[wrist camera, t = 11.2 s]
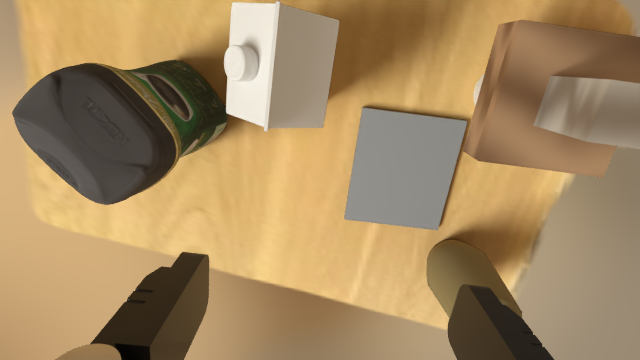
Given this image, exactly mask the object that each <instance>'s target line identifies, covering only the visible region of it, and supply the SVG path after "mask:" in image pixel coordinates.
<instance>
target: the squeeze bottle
mask: <svg viewBox="0 0 640 360" xmlns="http://www.w3.org/2000/svg"><path fill="white" fill-rule="evenodd" d="M427 282H428V286H429V287H430V289H431V290H432V292H433V294H434V295H435V297H436V298H437V300H438V301H439V303H440V304H441V306H442V307H443V309H444V310H445V312H446V313H447V315H448V316H449V318H450V316H451V313H452V310H453V307H454V303H455V300H456V297H457V294H458V291H459V288H460V287H461V285H463V284H468V285H477V286H486V287H489V288H490V289H491V290H492V291H493V292H494V294H495V295H496V296H497V298H498V299H499V300H500V302H501V303H502V304H503V305H506V306H508V307H509V308H510V309H511V310H512V311H514V312H515V313H516V314H517V315H519V316H520V317H521V318H522V311H521V310H520V308H519V306H518V305H517V303H516V302H515V300H514V298H513V297H512V295H511V294H510V292H509V290H508V289H507V287H506V286H505V284H504V282H503V281H502V279H501V278H500V276H499V274H498V273H497V271H496V270H495V268H494V266H493V265H492V263H491V262H490V260H489V258H488V257H487V255H486V254H485V253H483V252H482V251H480V250H479V249H477V248H475V247H473V246H471V245H468V244H466V243H464V242H462V241H458V240H446V241H442V242H440V243H439V244H437V245H435V246H434V247H433V249H432V250H431V251H430V252H429V255H428V258H427Z"/></svg>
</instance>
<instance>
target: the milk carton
mask: <svg viewBox="0 0 640 360" xmlns="http://www.w3.org/2000/svg"><path fill="white" fill-rule="evenodd" d="M338 30H339V20H337V19H333V18H330V17H326V16H322V15H319V14H315V13H312V12H308V11H304V10H301V9H297V8H294V7H290V6H286V5H283V4H281V2H280V1H276V4H270V3H232V9H231V22H230V40H229V47H228V49H227V50H226V53H225V57H224V69H225V72H226V75H227V76H228V77H227V95H226V113H227V114H230V115H232V116H235V117H238V118H241V119H244V120H246V121H249V122H252V123H255V124H257V125H260V126H263V127H264V131H268V130H269V128H323V125H324V120H325V114H326V108H327V101H328V95H329V89H330V82H331V76H332V69H333V63H334V56H335V50H336V43H337V37H338Z"/></svg>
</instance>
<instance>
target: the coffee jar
mask: <svg viewBox="0 0 640 360" xmlns="http://www.w3.org/2000/svg"><path fill="white" fill-rule="evenodd" d="M12 114H13V117H14V120H15V123H16V126H17V128H18V131H19V133H20V135H21V136H22V138H23V139H24V141H25V142H26V143H27V145H28V146H29V147H30V148H31V149H32V150H33V151H34V152H35V153H36V154H37V155H38V156H39V157H40V158H41V159H42V160H43V161H44V162H45V163H46V164H47V165H48V166H49V167H50V168H51V169H52V170H53V171H54V172H56V173H57V174H58V175H59V176H60V177H61V178H62V179H63V180H65V181H66V182H67V183H68V184H69V185H71V186H72V187H73V188H74V189H75V190H76V191H77V192H79V193H80V194H81V195H83V196H84V197H86V198H88V199H89V200H92V201H94V202H96V203H100V204H104V205H110V204H114V203H118V202H120V201H123V200H126V199H128V198H129V197H131V196H133V195H135V194H137V193H140V192H143V191H145V190H147V189H149V188H151V187H152V186H154V185H155V184H157V183H158V182H159V181H161V180H162V179H163V178H164V177H165V176H166V175H167V174H168V173H169V172H170V171H171V170H172V169H173V168H174V166H175V165H176V163H177V162H178V160H179V158H180V157H183V156H185V155H188V154H190V153H193V152H195V151H197V150H199V149H201V148H203V147H204V146H206V145H207V144H209V143H210V142H211V141H213V140H214V139H215V138H216V137H217V136H218V135H219V134H220V133H221V132H222V131H223V130H224V128H225V126H226V124H227V113H226V109H225V106H224V105H223V103H222V101H221V100H220V98H219V97H218V96H217V94H216V93H215V91H214V90H213V89H212V88H211V87H210V85H209V84H208V83H207V82H206V81H205V80H204V78H203V77H202V76H201V75H200V74H199V73H198V72H196V71H195V70H194V69H193V68H192V67H191V66H190V65H188V64H186V63H184V62H182V61H177V60H170V61H164V62H159V63H156V64H152V65H149V66H146V67H142V68H137V69H132V70H121V69H118V68H114V67H111V66H108V65H104V64H98V63H84V64H80V65H75V66H69V67H65V68H62V69H60V70H57V71H54V72H52V73H50V74H48V75H47V76H45V77H44V78H42V79H41V80H40V81H38V82H37V83H36V84H35V85H34V86H33V87H32V88H31V89H30V90H29V91H28V92H27V93H26V94H25V95H24V96H23V98H22V99H21V100H20V101H19V103H18V104H17V106H16V107H15V109H14V110H13V113H12Z"/></svg>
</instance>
